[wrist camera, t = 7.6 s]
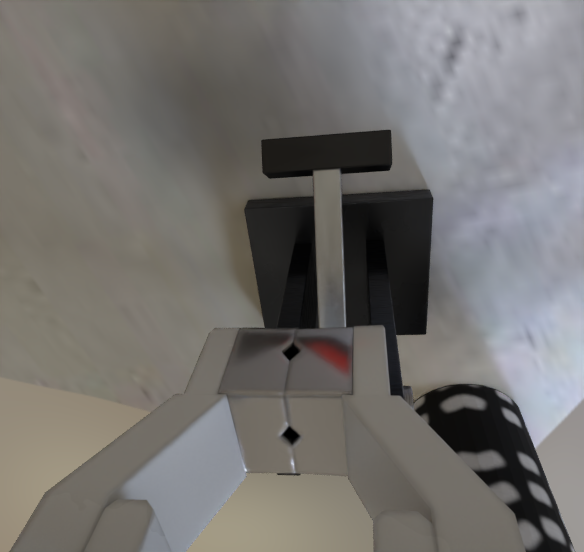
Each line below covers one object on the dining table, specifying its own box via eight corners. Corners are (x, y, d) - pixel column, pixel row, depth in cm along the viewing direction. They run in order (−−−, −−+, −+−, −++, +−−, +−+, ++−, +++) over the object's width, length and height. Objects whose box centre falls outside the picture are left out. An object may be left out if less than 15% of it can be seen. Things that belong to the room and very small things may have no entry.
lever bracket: (248, 200, 27) (179, 349, 16) (430, 189, 25) (488, 345, 15) (268, 326, 32) (226, 507, 21) (423, 322, 30) (464, 515, 19)
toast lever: (269, 150, 20) (258, 136, 18) (388, 140, 20) (392, 125, 17) (281, 427, 21) (271, 448, 18) (397, 427, 20) (403, 451, 18)
